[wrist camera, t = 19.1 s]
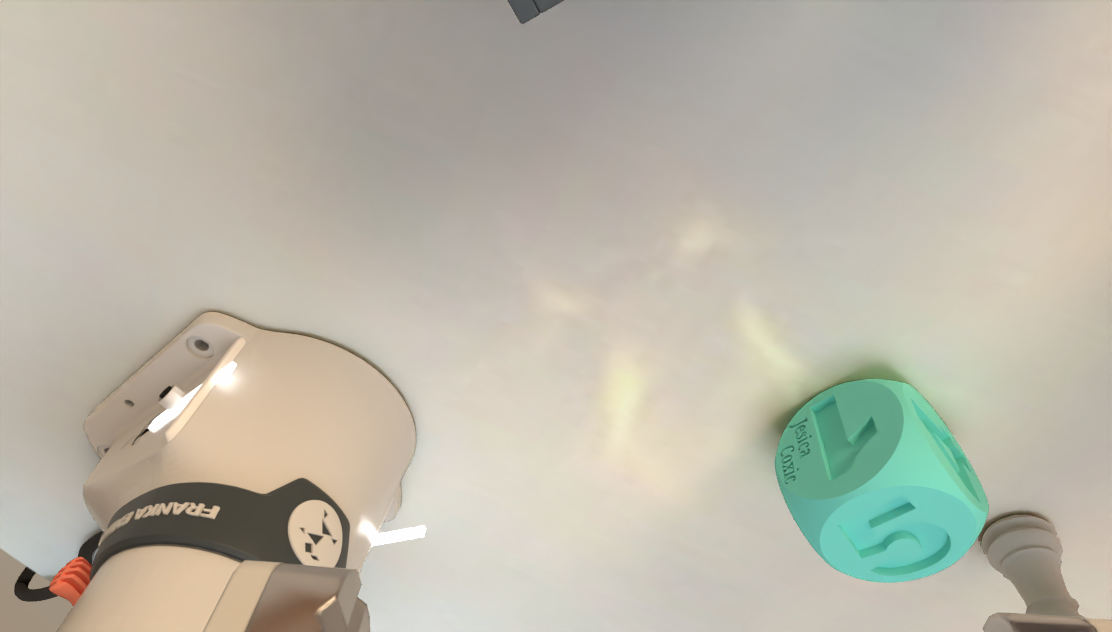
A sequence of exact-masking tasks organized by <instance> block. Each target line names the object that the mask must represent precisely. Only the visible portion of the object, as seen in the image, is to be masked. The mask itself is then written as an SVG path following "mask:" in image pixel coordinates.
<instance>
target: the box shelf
mask: <svg viewBox="0 0 1112 632" xmlns="http://www.w3.org/2000/svg"><path fill="white" fill-rule="evenodd" d="M562 1H564V0H508V2H509V3H510V5H511V7H512V9H513V11H514V12H515V14H516V16H517V18H518V20H519V21H520V23H521V24H524V23H526V22H527V21H529V20H531V19H533V18H534V17H536V16H538V15H539V14H540V12H541V13H543V12H545V11H546V10H548V9H550V8H552V7H553V6H555V5H557V4H559V3H560V2H562Z"/></svg>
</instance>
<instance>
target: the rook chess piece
mask: <svg viewBox="0 0 1112 632" xmlns="http://www.w3.org/2000/svg"><path fill="white" fill-rule="evenodd" d="M981 547H982V549H983V551H984V553H985V554H986V555H987V558H988V560H989V562H990V564H991V565H992V567H993V568H994V569H996V570H997V571H999V572H1000V573H1002V574H1003V576H1004V577H1005V578H1007V579H1009V580H1010V581H1011V582H1012V583H1013V584H1014V586H1015V587H1016V589H1017V590H1018V592H1019V594H1020V595H1021V597H1022V598H1023V600H1024V601H1025V603H1026V606H1027V610H1026V614H1036V615H1055V616H1074V617H1079V618H1085V617H1083V616H1081V615H1079V613H1078V612H1077V610H1078V608H1079V605H1078V602H1077V601H1076V600H1075V599H1073V598H1072V597H1070V595H1069V593H1068V591H1067V589H1066V586H1065V583H1064V580H1063V577H1062V574H1061V570H1060V566H1061V563H1062V561H1061V555H1062V552H1063V551H1062V545H1061V543H1060V540H1059V538H1058V537H1057V533H1056V531H1055V528H1054V526H1053V525H1051V524H1050V523H1048V522H1047V521H1045V520H1043V519H1041V518H1039V517H1035V516H1031V515H1027V514H1024V515H1012V516H1008V517H1004V518H1001V519H999V520H998V521H996V522H994V523H992V524H991V525H990V526H989V527H988V529H987V530H986V531H985V533H984V535H983V537H982V542H981Z"/></svg>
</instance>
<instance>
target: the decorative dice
mask: <svg viewBox="0 0 1112 632" xmlns="http://www.w3.org/2000/svg"><path fill="white" fill-rule="evenodd" d="M775 470H776V475H777V479H778V483H779V486H780V489H781V492H782V495H783V497H784V500H785V502H786V504H787V506H788V508H789V510H790V512H791V514H792V516H793V518H794V520H795V522H796V523H797V525H798V527H799V528H800V530H801V532H802V533H803V535H804V536H805V538H806V539H807V540H808V542H809V543H810V544H811V546H812V547H813V548H814V550H815V551H816V552H817V553H818V554H819V555H820V556H821V557H822V558H823V559H824V560H825V561H826V562H827V563H828V564H829V565H830V566H831V567H833V568H834V569H836V570H838V571H840V572H842V573H844V574H847V575H849V576H852V577H855V578H858V579H862V580H866V581H872V582H888V583H890V582H904V581H910V580H915V579H920V578H923V577H927V576H930V575H932V574H935V573H937V572H939V571H942V570H944V569H945V568H947V567H949V566H950V565H952V564H954V563H955V562H956V561H957V560H959V559H960V558H961V557H962V556H963V555H964V554H965V553H966V552H967V551H968V550H969V548H970V547H971V546H972V545H973V544H974V542H975V541H976V539H977V538H978V536H979V534H980V532H981V531H982V528H983V526H984V524H985V521H986V518H987V515H988V511H989V505H988V501H987V498H986V495H985V492H984V490H983V488H982V486H981V483H980V481H979V479H978V477H977V475H976V473H975V472H974V470H973V468H972V466H971V464H970V463H969V461H968V459H967V457H966V456H965V454H964V452H963V451H962V449H961V448H960V446H959V444H958V443H957V441H956V440H955V438H954V437H953V435H952V434H951V432H950V431H949V429H948V428H947V427H946V425H945V424H944V422H943V421H942V420H941V418H940V417H939V416H938V414H937V413H936V412H935V411H934V409H933V408H932V407H931V406H930V404H929V403H928V402H927V401H926V400H925V399H924V398H923V396H922V395H921V394H920V393H919V392H918V391H917V390H915V389H914V388H913V387H912V386H910V385H909V384H906V383H902V382H898V381H893V380H885V379H863V380H857V381H851V382H846V383H842V384H839V385H836V386H834V387H831V388H829V389H827V390H825V391H823V392H822V393H820V394H818V395H817V396H815V397H814V398H812V399H811V400H810V401H809V402H807V403H806V404H805V405H804V406H803V407H802V408H801V409H800V410H799V411H798V412H797V413H796V414H795V416H794V417H793V418H792V419H791V421H790V422H789V424H788V425H787V427H786V429H785V430H784V432H783V435H782V437H781V439H780V442H779V445H778V449H777V453H776V458H775Z"/></svg>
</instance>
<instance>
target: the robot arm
mask: <svg viewBox="0 0 1112 632" xmlns="http://www.w3.org/2000/svg"><path fill="white" fill-rule="evenodd" d="M202 340H203V341H205V342H206V343H205V342H203V341H202ZM84 430H85V433H86V435H87V437H88V439H89V441H90V443H91V445H92V447H93V448H94V450H95V451H96V453H97V454H98V456H99V457H100V458H101V461H100V462H99V463H98V465H97V466H96V467H95V469H94V470H93V471H92V473H91V474H90V476H89V477H88V479H87V480H86V482H85V484H84V486H83V497H84V501H85V504H86V506H87V509H88V510H89V512H90V514H91V516H92V517H93V519H94V520H95V521H96V523H97V524H98V525H99V527H100V528H101V530H102V531H101V532H99V533H98V534H96V535H95V536H93V537H92V538H90V539H89V540H88V541H86V542H85V543H84V544H83V545H82V547H81V548H80V550H79V554H78V558H75V559H73V560H72V561H70V562H69V563H67V564H66V566H65V567H63V568H62V569H61V570H60V571H59V572H58V574H57V575H55V577H54V578H53V581H52V582H51V583H50V586H49V587H45V588H41V589H34V590H32V589H29V588H28V585H29V583H30V581H31V579H32V578H33V576H34V575H35V574H36V572H35V571H33V570H32V569H30V568H29V567H27V566H26V568H25V569H24V570H23V572H22V573H21V574H20V576H19V577H18V579H17V581H16V583H15V589H14V590H15V591H14V592H15V595H16V596H17V597H18V598H19V599H20V600H22V601H41V600H46V599H50V598H53V597H56V596H60V597H62V598H65V599H67V600H68V601H70V602H71V603H72V605H73V608H72V609H71V611H70V612H69V614H68V615H67V617H66V618H65V620H64V621H63V623H62V624H61V626H60V627H59V629H58V630H57V632H370V616H369V611H368V607H367V604H366V603H364V602H363V601H362V600H361V599H359V598H358V597H357V596H358V593H359V590H360V587H361V581H360V578H359V575H358V574H359V572H360V570H361V567H362V565H363V563H364V561H365V559H366V557H367V555H368V553H369V551H370V549H371V547H372V546H375V545H380V544H386V543H392V542H397V541H403V540H409V539H414V538H420V537H424V534H425V531H426V527H425V526H418V527H413V528H407V529H402V530H396V531H391V532H385V533H380V534H378V531H379V529H380V527H381V525H382V523H384V522H388V521H391V520H393V519H394V518H395V516H396V514H397V512H398V510H399V508H400V506H401V500H402V495H401V484H400V482H401V479H402V477H403V475H404V473H405V472H406V470H407V468H408V466H409V465H410V463H411V461H412V458H413V455H414V452H415V447H416V431H415V426H414V422H413V418H412V416H411V413H410V411H409V409H408V407H407V405H406V403H405V401H404V400H403V398H402V397H401V395H400V394H399V392H398V391H397V390H396V389H395V387H394V386H393V385H392V384H391V383H390V382H389V381H388V380H387V379H386V378H385V377H384V376H383V375H382V374H381V373H380V372H378V371H377V370H376V369H375V368H373V367H372V366H371V365H369V364H368V363H367V362H365V361H364V360H362V359H360V358H359V357H357V356H356V355H354V354H352V353H350V352H348V351H346V350H344V349H342V348H340V347H338V346H335V345H333V344H330V343H328V342H325V341H322V340H319V339H315V338H312V337H307V336H303V335H297V334H290V333H282V332H273V331H267V330H263V329H258V328H256V327H254V326H252V325H249V324H247V323H245V322H243V321H240V320H238V319H236V318H233V317H230V316H228V315H225V314H222V313H217V312H206V313H203V314H202V315H200V316H199V317H198V318H197V319H195V320H194V321H193V322H192V323H191V324H190V325H189V326H188V327H186V328H185V329H184V330H183V331H182V332H181V333H180V334H179V335H177V336H176V337H175V338H174V339H173V340H172V341H171V342H169V343H168V344H167V345H166V346H165V347H164V348H163V349H162V350H160V351H159V352H158V353H157V354H156V355H155V356H154V357H152V358H151V359H150V360H149V361H148V362H147V363H146V364H145V365H143V366H142V367H141V368H140V369H139V370H138V371H137V372H136V373H134V374H133V375H132V376H131V377H130V378H129V379H128V380H126V381H125V382H124V383H123V384H122V385H121V386H120V387H119V388H117V389H116V390H115V391H114V392H113V393H112V394H111V395H109V396H108V397H107V398H106V399H105V400H104V401H103V402H102V403H100V404H99V405H98V406H97V407H96V408H95V409H94V410H93V411H92V412H91V413H90V415H89V416H88V418H87V419H86V421H85V422H84ZM98 547H99V549H98V551H97V554H96V556H95V559H94V562H93V565H92V554H93V552H94V551H95V550H96V549H97V548H98ZM983 631H984V632H1112V620H1106V619H1087V618H1079V617H1074V616H1055V615H1036V614H1017V613H996V614H993V615H991V616H989V618H988V619H987V621H986V623H985V625H984V627H983Z"/></svg>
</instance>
